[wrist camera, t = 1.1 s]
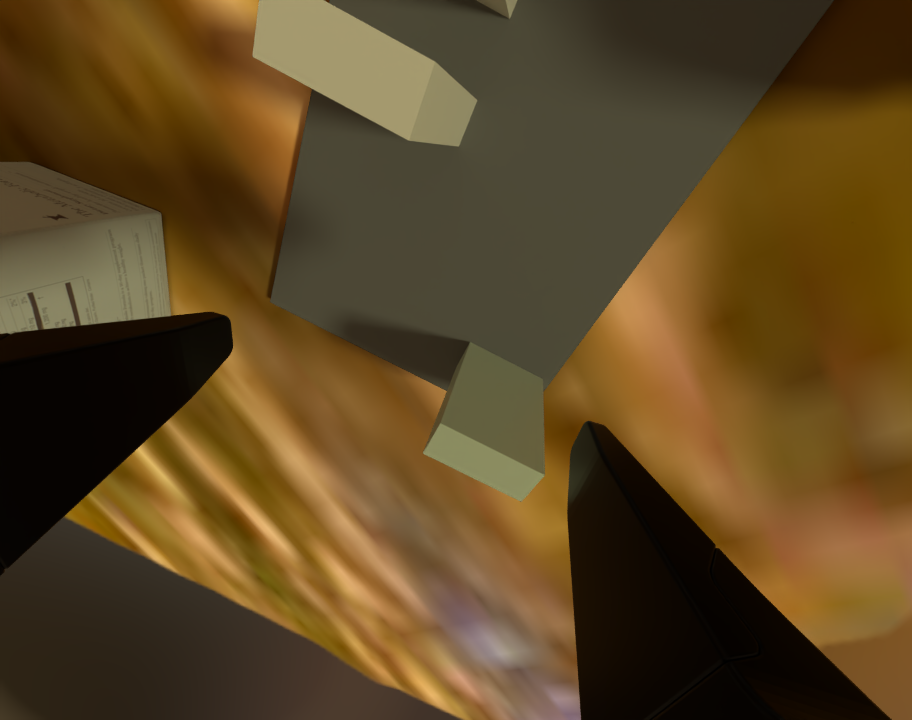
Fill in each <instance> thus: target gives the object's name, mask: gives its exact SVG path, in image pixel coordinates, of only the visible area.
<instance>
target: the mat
mask: <svg viewBox="0 0 912 720" xmlns="http://www.w3.org/2000/svg"><path fill="white" fill-rule="evenodd" d="M833 1H834V0H517V2H516V5H515V7H514V10H513V12H512V15H511V17H510V19H509V18H507V17H505V16H503V15H501V14H500V13H498V12H496V11H494V10H493V9H491V8H489V7H487V6H486V5H484V4H482V3H480V2H478V1H477V0H329V3H330V4H331V5H333V6H335V7H337V8H339V9H341V10H342V11H344V12H346V13H348V14H350V15H351V16H353V17H355V18H357V19H359V20H361V21H362V22H364V23H366V24H368V25H370V26H371V27H373V28H375V29H377V30H379V31H380V32H382V33H384V34H386V35H388V36H390V37H391V38H393V39H395V40H397V41H399V42H400V43H402V44H404V45H406V46H408V47H409V48H411V49H413V50H415V51H417V52H419V53H420V54H422V55H424V56H426V57H428V58H429V59H431V60H433V61H435V62H436V63H437V64H438V65H439V66H440V67H442V68H443V69H444V70H445V71H446V72H447V73H448V74H449V75H450V76H451V77H453V78H454V79H455V80H456V81H457V82H458V83H459V84H460V85H461V86H462V87H463V88H465V89H466V90H467V91H468V92H469V93H470V94H471V95H472V96H473V97H474V98H476V99H477V102H476V105H475V107H474V110H473V112H472V115H471V117H470V120H469V122H468V125H467V127H466V130H465V132H464V135H463V137H462V140H461V142H460V145H459V147H458V146H450V145H441V144H433V143H424V142H416V141H408V140H407V139H405V138H403V137H401V136H399V135H397V134H395V133H394V132H392V131H390V130H388V129H386V128H384V127H382V126H381V125H379V124H377V123H375V122H373V121H371V120H369V119H368V118H366V117H364V116H362V115H360V114H358V113H356V112H354V111H353V110H351V109H349V108H347V107H345V106H343V105H341V104H340V103H338V102H336V101H334V100H332V99H330V98H328V97H327V96H325V95H323V94H321V93H319V92H317V91H315V90H314V89H312V92H311V97H310V102H309V107H308V112H307V117H306V122H305V128H304V133H303V138H302V143H301V148H300V153H299V158H298V163H297V168H296V173H295V178H294V183H293V189H292V194H291V199H290V204H289V209H288V214H287V219H286V224H285V229H284V234H283V239H282V244H281V250H280V255H279V260H278V265H277V270H276V275H275V280H274V285H273V290H272V295H271V300H270V302H271V303H273V304H275V305H277V306H279V307H281V308H283V309H285V310H287V311H289V312H291V313H293V314H295V315H297V316H299V317H301V318H303V319H305V320H307V321H309V322H311V323H313V324H315V325H317V326H319V327H321V328H323V329H325V330H327V331H329V332H331V333H333V334H335V335H337V336H339V337H341V338H343V339H345V340H347V341H349V342H351V343H353V344H355V345H357V346H359V347H360V348H362V349H364V350H366V351H368V352H370V353H372V354H374V355H376V356H378V357H380V358H382V359H384V360H386V361H388V362H390V363H392V364H394V365H396V366H398V367H400V368H402V369H404V370H406V371H408V372H410V373H412V374H414V375H416V376H418V377H420V378H422V379H424V380H426V381H428V382H430V383H432V384H434V385H436V386H438V387H440V388H442V389H444V390H446V391H447V390H448V387H449V385H450V382H451V380H452V377H453V375H454V372H455V369H456V367H457V365H458V363H459V361H460V360H461V358H462V356H463V354H464V352H465V351H466V349H467V347H468V345H469V343H470V342H471V343H473V344H475V345H477V346H479V347H481V348H483V349H485V350H487V351H489V352H491V353H493V354H495V355H497V356H499V357H501V358H503V359H505V360H507V361H509V362H510V363H512V364H514V365H516V366H518V367H520V368H522V369H524V370H526V371H528V372H530V373H532V374H534V375H536V376H538V377H540V378H542V379H543V392H544V390H545V389H546V388H547V386H548V385H549V384H550V382H551V381H552V380H553V378H554V377H555V376H556V374H557V373H558V372H559V370H560V369H561V367H562V366H563V365H564V363H565V362H566V361H567V359H568V358H569V357H570V355H571V354H572V353H573V351H574V350H575V349H576V347H577V346H578V345H579V343H580V342H581V341H582V339H583V338H584V336H585V335H586V334H587V332H588V331H589V330H590V328H591V327H592V326H593V324H594V323H595V322H596V320H597V319H598V318H599V316H600V315H601V314H602V312H603V311H604V310H605V308H606V307H607V305H608V304H609V303H610V301H611V300H612V299H613V297H614V296H615V295H616V293H617V292H618V291H619V289H620V288H621V287H622V285H623V284H624V283H625V281H626V280H627V279H628V277H629V276H630V274H631V273H632V272H633V270H634V269H635V268H636V266H637V265H638V264H639V262H640V261H641V260H642V258H643V257H644V256H645V254H646V253H647V252H648V250H649V249H650V248H651V246H652V245H653V244H654V242H655V241H656V239H657V238H658V237H659V235H660V234H661V233H662V231H663V230H664V229H665V227H666V226H667V225H668V223H669V222H670V221H671V219H672V218H673V217H674V215H675V214H676V213H677V211H678V210H679V208H680V207H681V206H682V204H683V203H684V202H685V200H686V199H687V198H688V196H689V195H690V194H691V192H692V191H693V190H694V188H695V187H696V186H697V184H698V183H699V182H700V180H701V179H702V177H703V176H704V175H705V173H706V172H707V171H708V169H709V168H710V167H711V165H712V164H713V163H714V161H715V160H716V159H717V157H718V156H719V155H720V153H721V152H722V151H723V149H724V148H725V146H726V145H727V144H728V142H729V141H730V140H731V138H732V137H733V136H734V134H735V133H736V132H737V130H738V129H739V128H740V126H741V125H742V124H743V122H744V121H745V120H746V118H747V117H748V115H749V114H750V113H751V111H752V110H753V109H754V107H755V106H756V105H757V103H758V102H759V101H760V99H761V98H762V97H763V95H764V94H765V93H766V91H767V90H768V89H769V87H770V86H771V85H772V83H773V82H774V80H775V79H776V78H777V76H778V75H779V74H780V72H781V71H782V70H783V68H784V67H785V66H786V64H787V63H788V62H789V60H790V59H791V58H792V56H793V55H794V54H795V52H796V51H797V49H798V48H799V47H800V45H801V44H802V43H803V41H804V40H805V39H806V37H807V36H808V35H809V33H810V32H811V31H812V29H813V28H814V27H815V25H816V24H817V23H818V21H819V20H820V18H821V17H822V16H823V14H824V13H825V12H826V10H827V9H828V8H829V6H830V5H831V4H832V2H833Z"/></svg>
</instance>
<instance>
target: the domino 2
mask: <svg viewBox="0 0 912 720" xmlns="http://www.w3.org/2000/svg"><path fill="white" fill-rule="evenodd" d="M423 454H425V455H427V456H429V457H431V458H433V459H435V460H437V461H440V462H442V463H444V464H446V465H448V466H450V467H452V468H454V469H456V470H458V471H460V472H462V473H464V474H466V475H468V476H470V477H472V478H474V479H476V480H478V481H480V482H482V483H484V484H486V485H488V486H490V487H492V488H494V489H496V490H498V491H501V492H503V493H505V494H507V495H509V496H511V497H513V498H515V499H517V500H519V501H521V502H522V500H523V499H524V498H525V497H526V496H527V495H528V494H529V493H530V491H531V490H532V489H533V488H534V487H535V486H536V485H537V483H538V482H539V481H540V480H541V479H542V478H543V477H544V476H545V459H544V408H543V379H542V378H540V377H538V376H536V375H534V374H532V373H530V372H528V371H526V370H524V369H522V368H520V367H518V366H516V365H514V364H512V363H510V362H509V361H507V360H505V359H503V358H501V357H499V356H497V355H495V354H493V353H491V352H489V351H487V350H485V349H483V348H481V347H479V346H477V345H475V344H473V343H471V342H470V343H469V345H468V347H467V349H466V351H465V352H464V354H463V356H462V358H461V360H460V361H459V363H458V365H457V367H456V369H455V372H454V375H453V377H452V380H451V382H450V385H449V387H448V390H447V393H446V395H445V398H444V400H443V403H442V405H441V408H440V411H439V413H438V416H437V418H436V421H435V423H434V426H433V429H432V431H431V434H430V436H429V439H428V441H427V444H426V446H425V449H424V452H423Z"/></svg>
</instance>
